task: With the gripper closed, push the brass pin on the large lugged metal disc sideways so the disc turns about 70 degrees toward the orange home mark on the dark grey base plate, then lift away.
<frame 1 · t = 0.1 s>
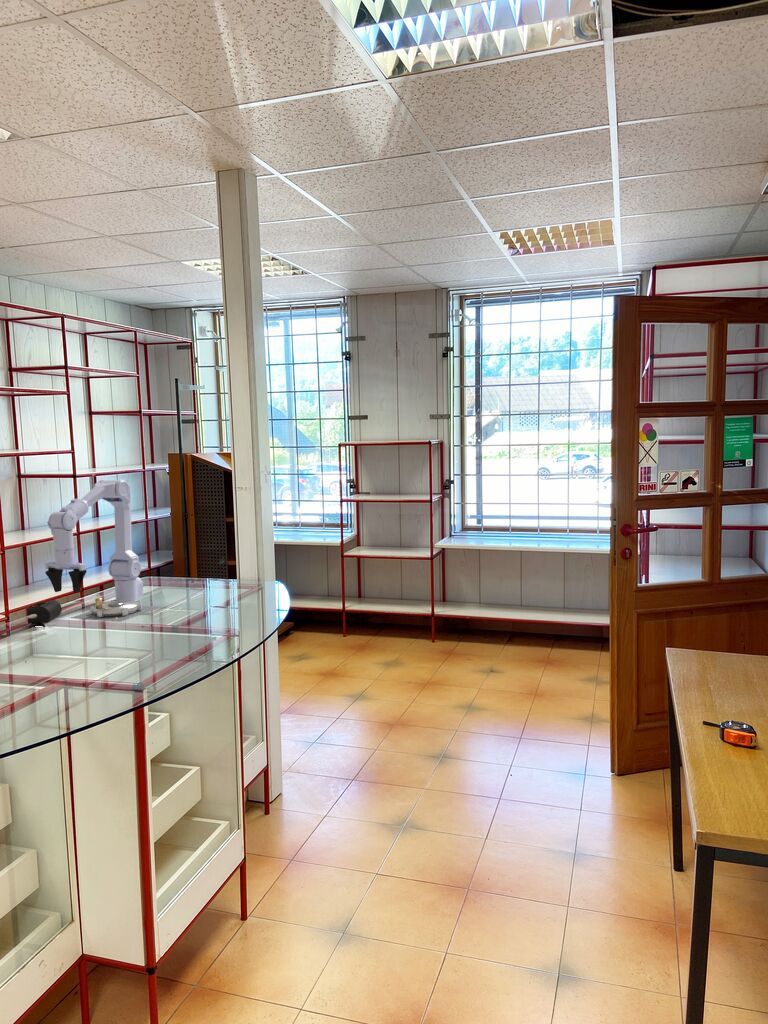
hand: (67, 592, 229), 10 cm above the table, tool pointing down, fingers open, 7 cm apart
lugged metal disc: (116, 603, 236), point 4 cm above the table, hinge at 0.0°
base plate: (117, 616, 237), on the table
electric motor: (45, 624, 230), on the table
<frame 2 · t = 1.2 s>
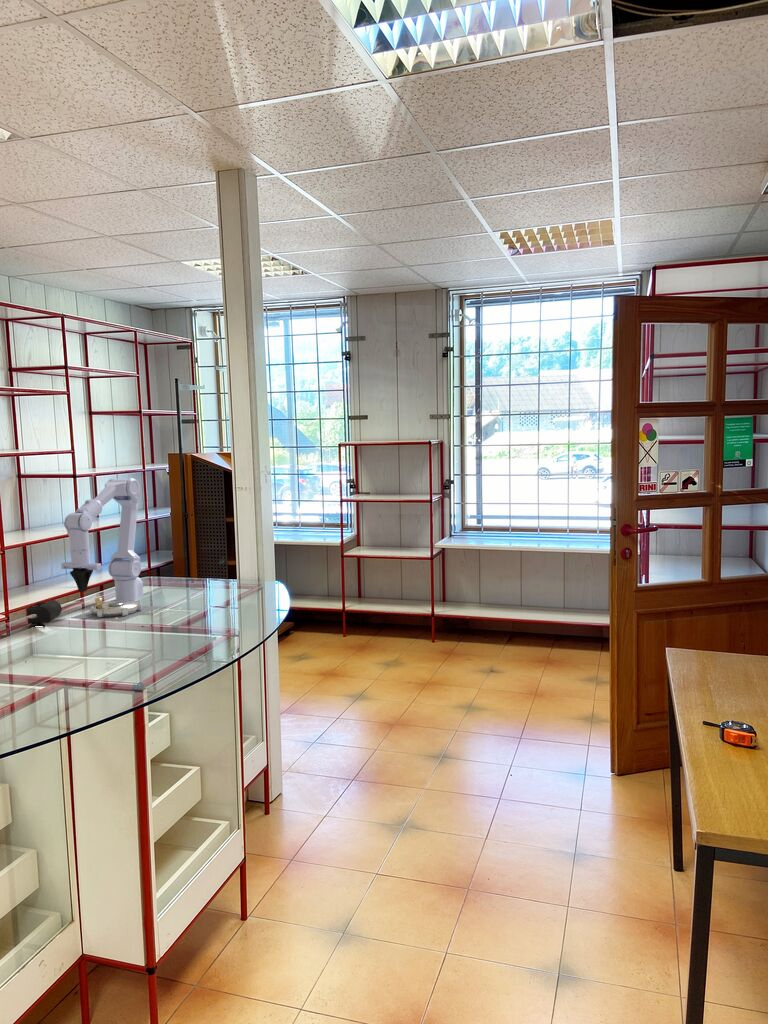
hand: (82, 591, 235), 9 cm above the table, tool pointing down, fingers closed
nothing on the table moved.
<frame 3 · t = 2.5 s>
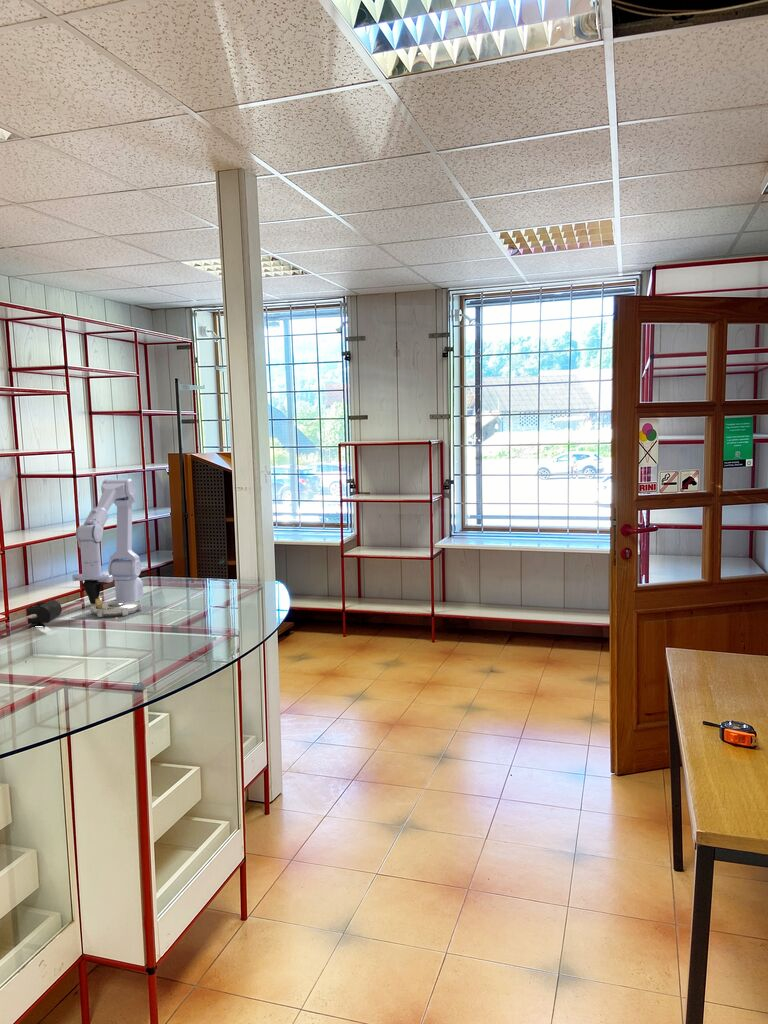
hand: (94, 603, 233), 5 cm above the table, tool pointing down, fingers closed, pressing on lugged metal disc
lugged metal disc: (116, 603, 236), point 4 cm above the table, hinge at 0.0°, touching gripper
everything else where it was.
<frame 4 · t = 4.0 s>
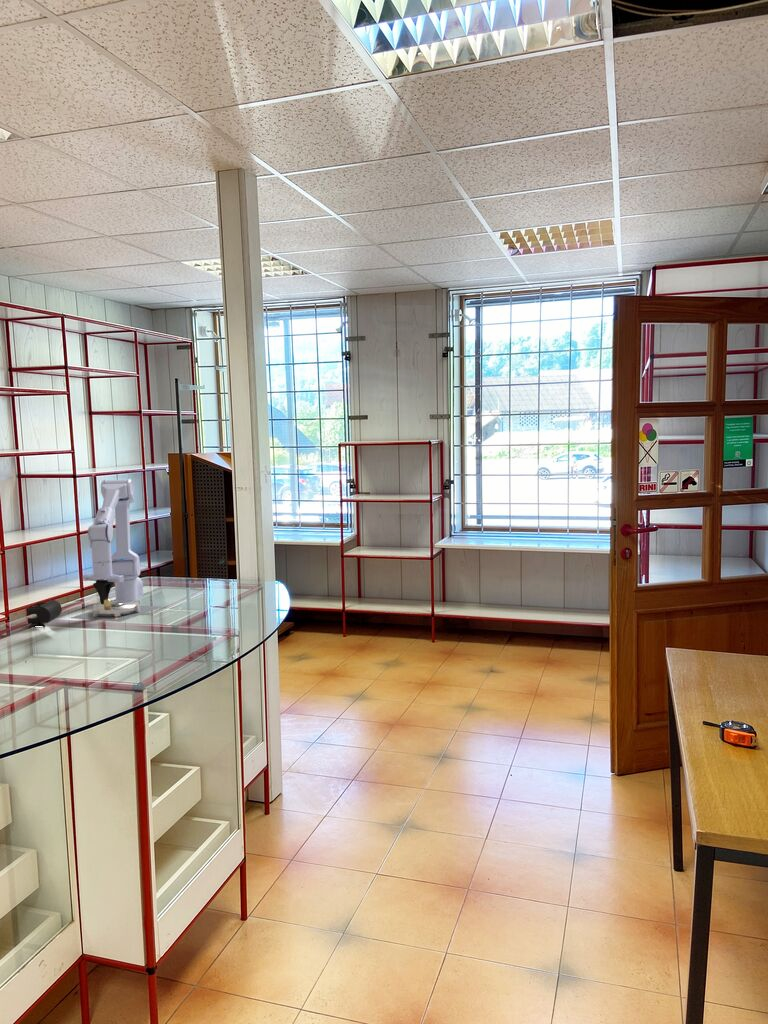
hand: (104, 603, 232), 5 cm above the table, tool pointing down, fingers closed, pressing on lugged metal disc
lugged metal disc: (116, 603, 236), point 4 cm above the table, hinge at 42.2°, touching gripper
everything else where it was.
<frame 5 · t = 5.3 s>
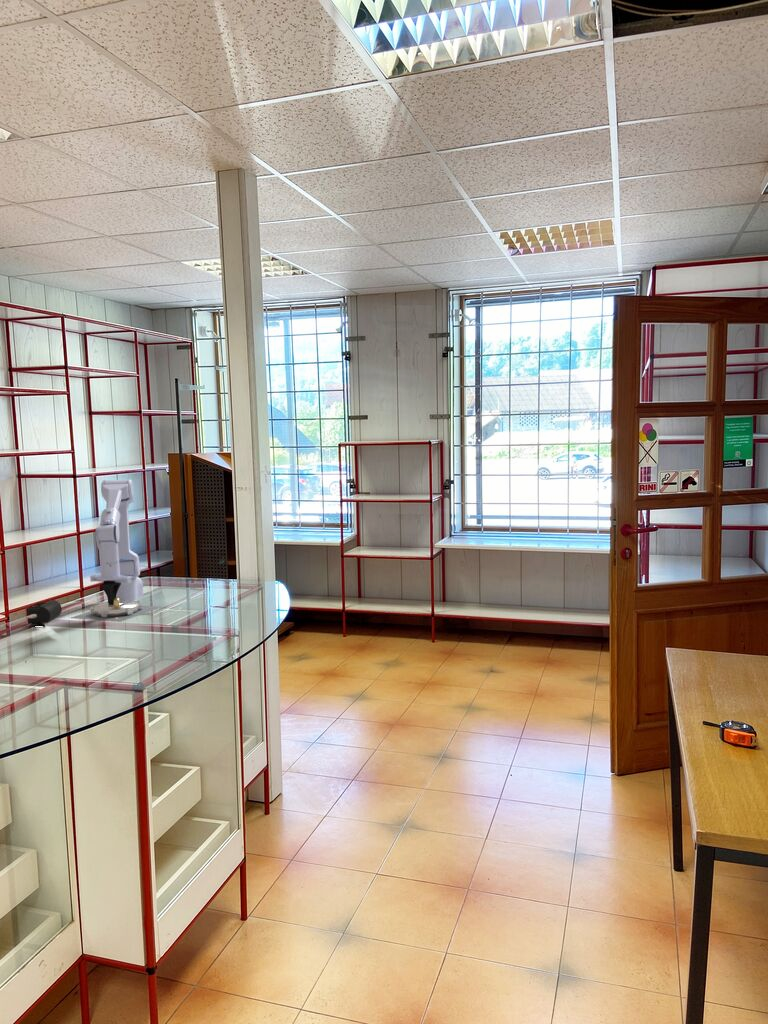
hand: (112, 604, 231), 5 cm above the table, tool pointing down, fingers closed, pressing on lugged metal disc
lugged metal disc: (116, 603, 236), point 4 cm above the table, hinge at 71.9°, touching gripper
everything else where it was.
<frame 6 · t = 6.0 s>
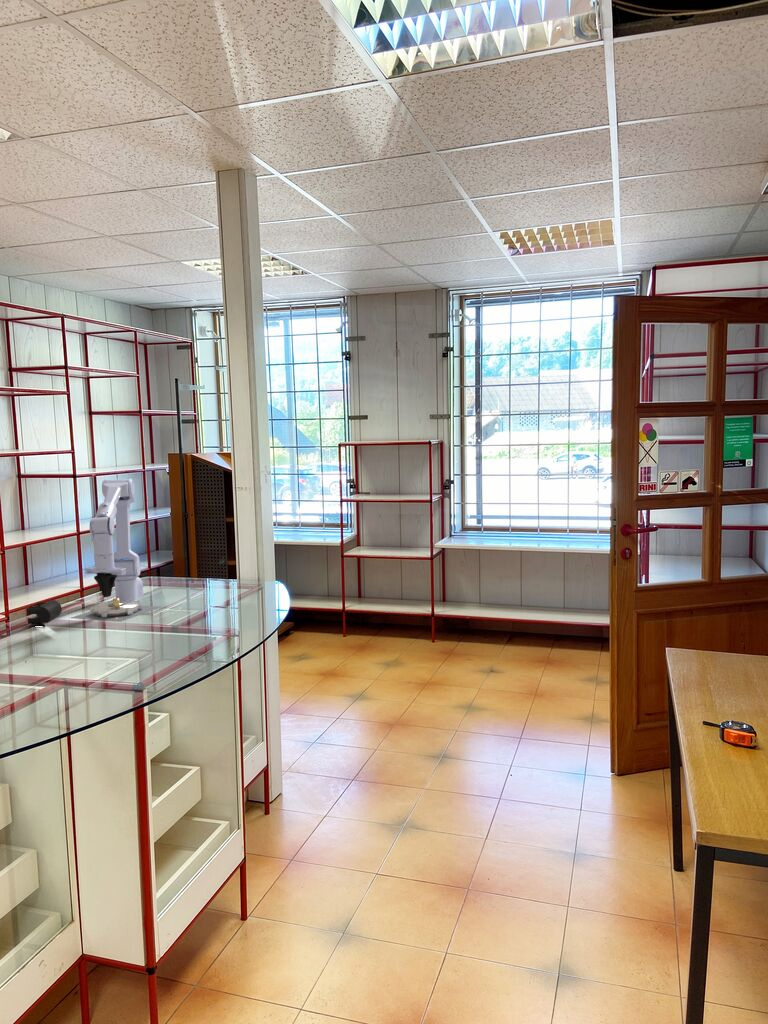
hand: (107, 596, 232), 8 cm above the table, tool pointing down, fingers closed
lugged metal disc: (116, 603, 236), point 4 cm above the table, hinge at 72.0°
everything else where it was.
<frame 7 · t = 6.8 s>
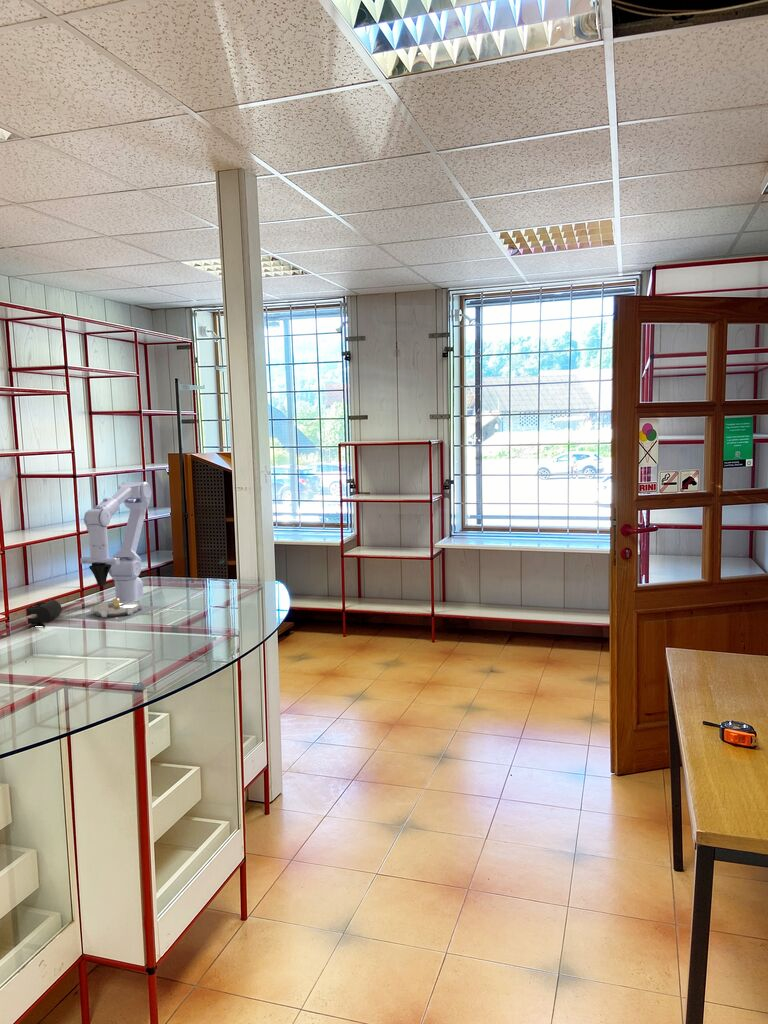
hand: (101, 585, 241), 9 cm above the table, tool pointing down, fingers closed
nothing on the table moved.
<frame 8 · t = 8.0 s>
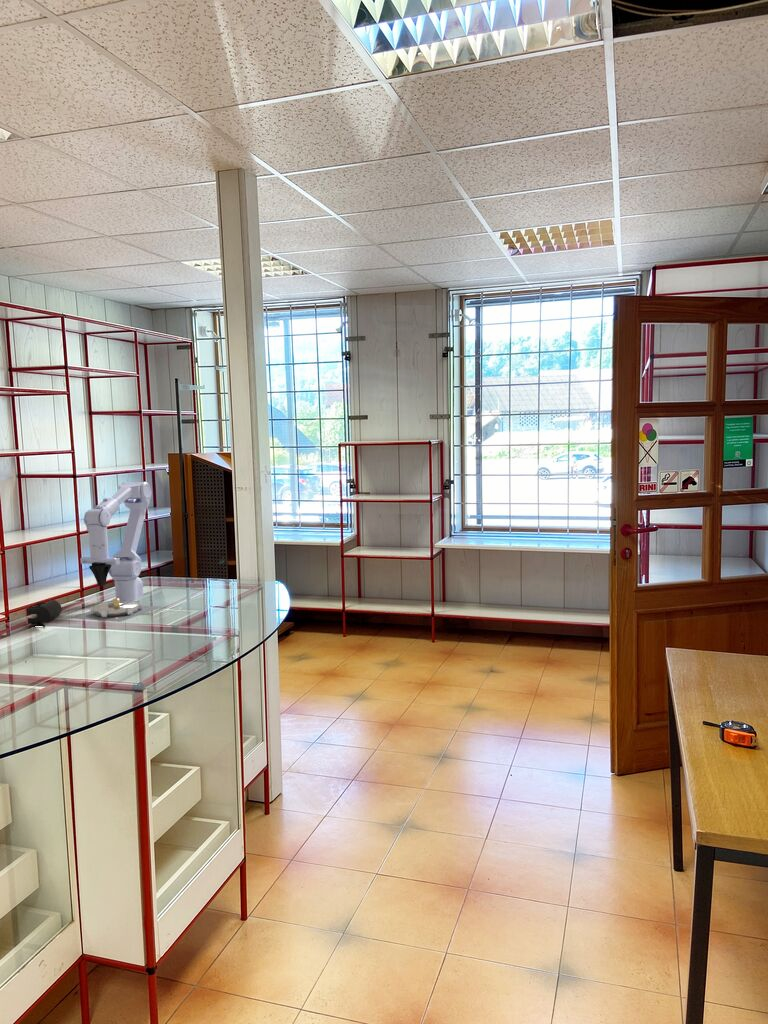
hand: (101, 585, 241), 9 cm above the table, tool pointing down, fingers closed
nothing on the table moved.
at the end: lugged metal disc at +72° (first picture: +0°); electric motor moved 0.3 cm from its start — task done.
